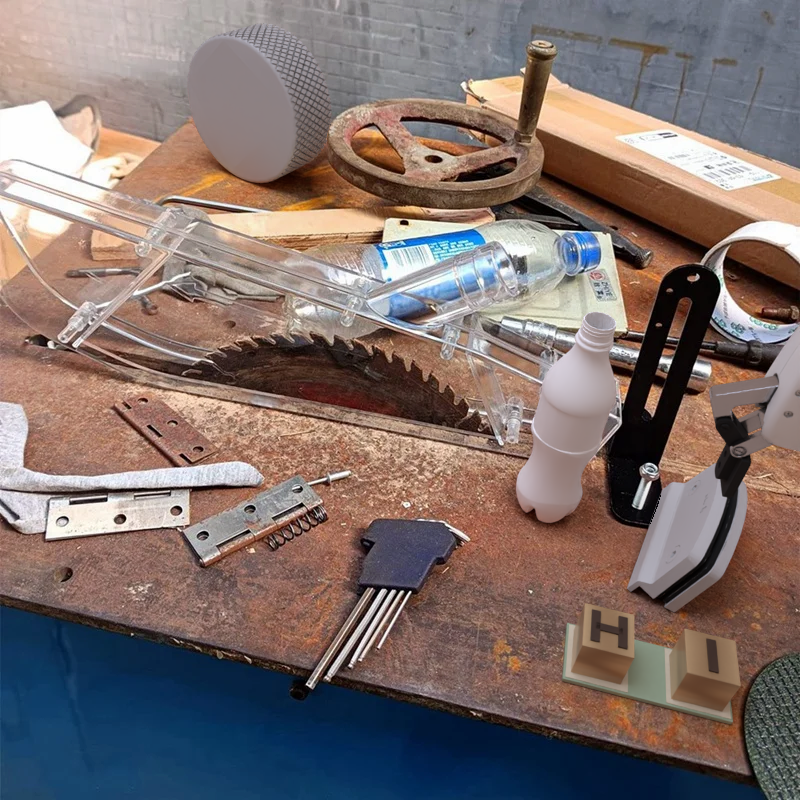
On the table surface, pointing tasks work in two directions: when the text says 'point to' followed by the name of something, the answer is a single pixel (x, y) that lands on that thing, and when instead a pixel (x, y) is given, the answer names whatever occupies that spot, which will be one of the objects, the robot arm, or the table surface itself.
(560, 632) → the table surface
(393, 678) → the table surface
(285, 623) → the table surface
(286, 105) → the knob
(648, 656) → the word board
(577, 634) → the tile
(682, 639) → the tile
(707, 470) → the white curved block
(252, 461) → the table surface
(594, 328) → the water bottle
